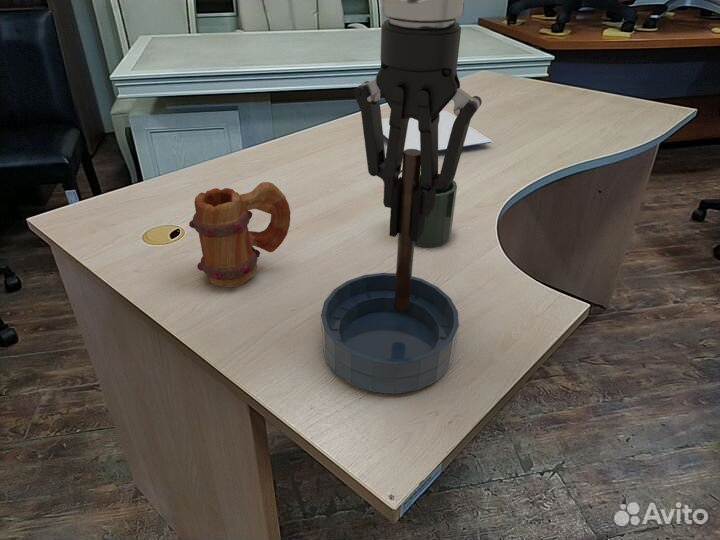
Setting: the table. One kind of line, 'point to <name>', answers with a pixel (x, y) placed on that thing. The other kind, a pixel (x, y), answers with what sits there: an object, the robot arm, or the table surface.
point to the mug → (237, 231)
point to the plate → (443, 133)
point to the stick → (406, 229)
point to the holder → (439, 218)
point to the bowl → (388, 334)
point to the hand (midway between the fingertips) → (406, 233)
